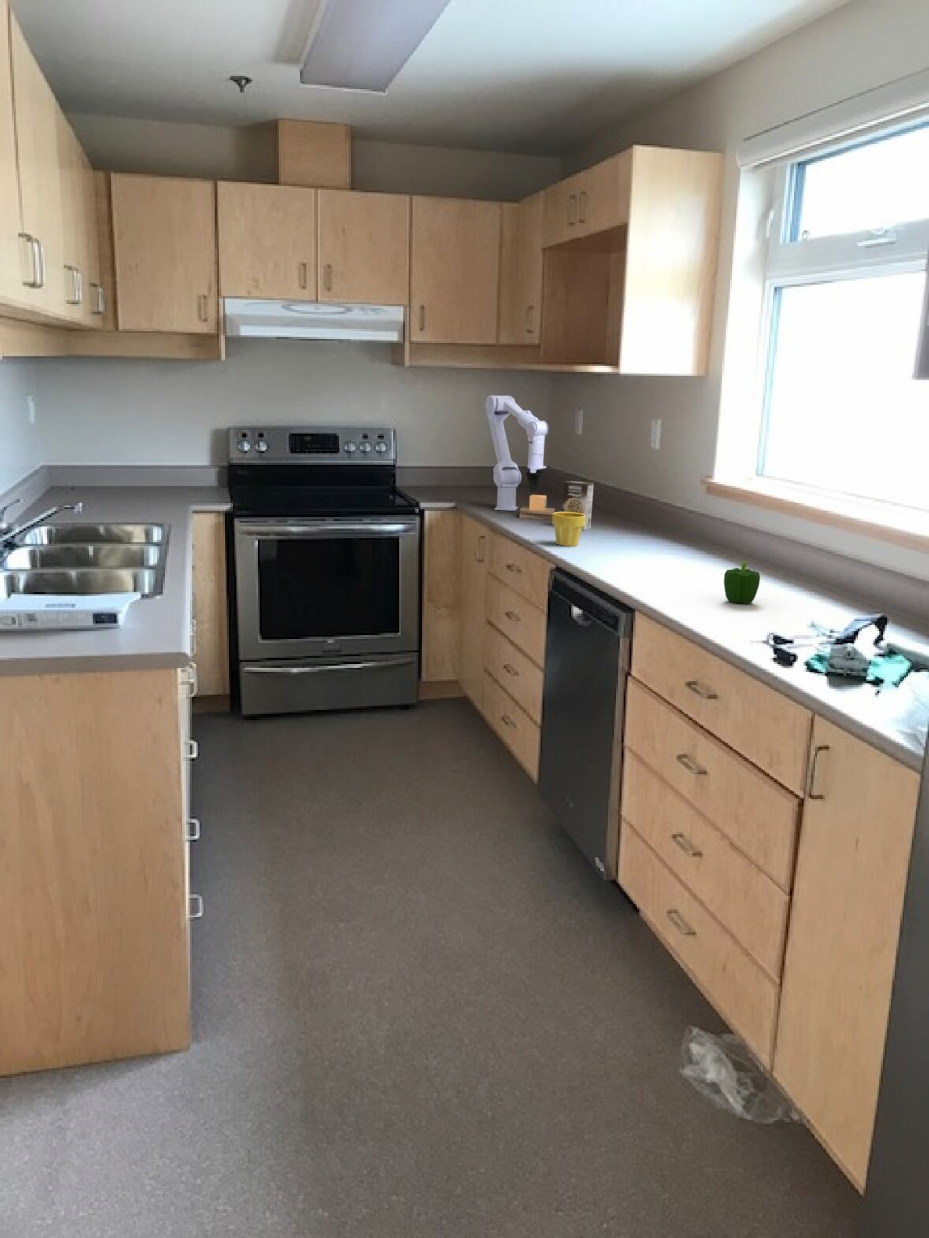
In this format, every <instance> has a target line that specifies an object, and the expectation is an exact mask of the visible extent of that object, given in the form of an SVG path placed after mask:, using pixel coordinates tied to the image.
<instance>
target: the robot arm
mask: <svg viewBox="0 0 929 1238" xmlns="http://www.w3.org/2000/svg"><path fill="white" fill-rule="evenodd" d="M515 400H516V399H515V397H513V396H511V395H509V394H507V395H494V394H490V395H488V396H487V397H486V401H485V403H484V408H485V411H486V412H485V413H486V417H487V419H488V425H489V429H490V430H489V431H490V434H491V439H492V444H493V448H494V452H495V456H496V461H497V463H496V465H495V466H494V467H493V469H492V470H493V482H494V484H495V485H496V487H497V495H496V496H497V497H496V506H495V508H494V510H495V511H510V512H513V511H516V510H518V508H519V506H516V504H517V500H516V499H517V488H518V486H519V484H520V483H521V482H522V473H521V471H520V470H519V466H518V464H517V463H515V462H514V461H513V460H512V458H511V454H510V448H509V443H508V440H507V439H508V438H507V434H506V430H505V426H504V425H505V424H504V421H505V420H506V419H507V418H508V416H509V415H512V416H514V417H515V418H517V419H516V420H517V423H518V424H519V425H520V426H521V427H522V428H523V429H525V431H526V435H527V441H528V452H527V453H528V456H527V457H528V459H527V466H526V468H528V469H529V470H528V471H526V472H525V475H526V477H527V481H528V486H529V492H530V493H532V492H533V493H536V492H537V490H539V488H540V484H541V479H542V476H543V475H544V473H545V470H543V469H547V466H546V465H544V458H545V457H544V455H545V454H544V453H545V437H547V435H548V434H549V424H548V423H547V421H545V420H539V419H538V417H536V416H534V414H533V413H532V411H531V410H524V409H522V407H520V406H519V404H517V403H516V401H515Z"/></svg>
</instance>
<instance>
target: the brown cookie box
mask: <svg viewBox="0 0 929 1238" xmlns="http://www.w3.org/2000/svg"><path fill="white" fill-rule="evenodd" d="M594 484H595V483H594V482H588V481H586V482H585V481H580V480H579V481H577V480H565V481H564V482H563V494H562V505H561V507H562V510H561V512H575V513H581V514H584V515H585V525H584V526H583V527H582V530H581V531H586V530H589V529H591V526H592V525H591V524H592V511H593V497H594Z"/></svg>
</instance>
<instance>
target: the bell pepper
mask: <svg viewBox="0 0 929 1238" xmlns="http://www.w3.org/2000/svg"><path fill="white" fill-rule="evenodd" d="M723 575H724V576H723V577H724V578H723V586H724V595H725V597H726V599H727V601H728V602H731V603H733V604H747V605H748V604H752V603H753V602H754V600H755V599H756V595H757V593H758V590H759V586H760V582H761V575H760V572H759V571H755V570H752V569H750V568H747V561H746V560H743V561H742V563H741V569H740V568H738V567H735V568H733V569H727V570H726V571H725V573H724V574H723Z"/></svg>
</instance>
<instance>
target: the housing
mask: <svg viewBox="0 0 929 1238" xmlns="http://www.w3.org/2000/svg"><path fill="white" fill-rule="evenodd" d="M547 500H548V498H547V495H545V494H544V495H542V494H531V495H530V496H529V506H528V507H529V510H545V509H546V508H547V504H548V503H547V502H548V501H547Z"/></svg>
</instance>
